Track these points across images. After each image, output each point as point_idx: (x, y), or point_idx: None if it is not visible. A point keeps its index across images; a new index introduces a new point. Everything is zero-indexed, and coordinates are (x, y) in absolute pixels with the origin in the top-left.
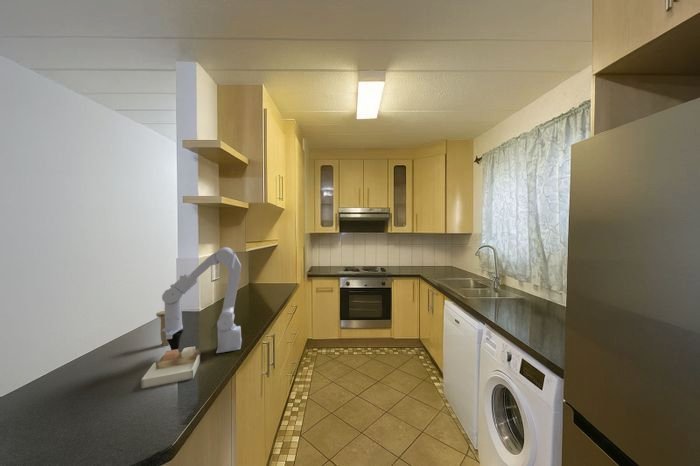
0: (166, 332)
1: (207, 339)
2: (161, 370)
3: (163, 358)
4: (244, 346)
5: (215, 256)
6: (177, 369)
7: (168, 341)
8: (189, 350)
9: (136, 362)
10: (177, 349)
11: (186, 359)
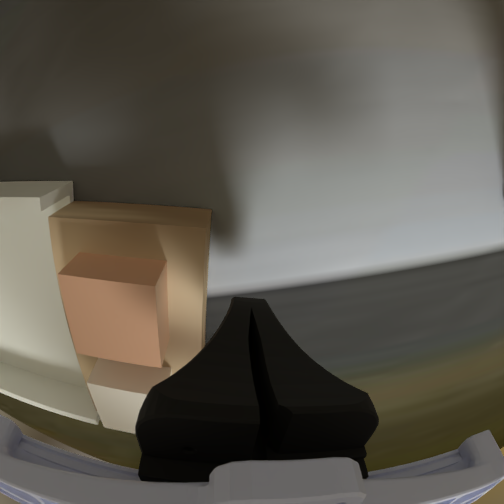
0: (29, 493)
1: (414, 393)
2: (43, 234)
3: (71, 261)
4: None
5: None
6: (41, 315)
7: (190, 361)
8: (108, 415)
9: (315, 3)
10: (153, 363)
11: (85, 369)
